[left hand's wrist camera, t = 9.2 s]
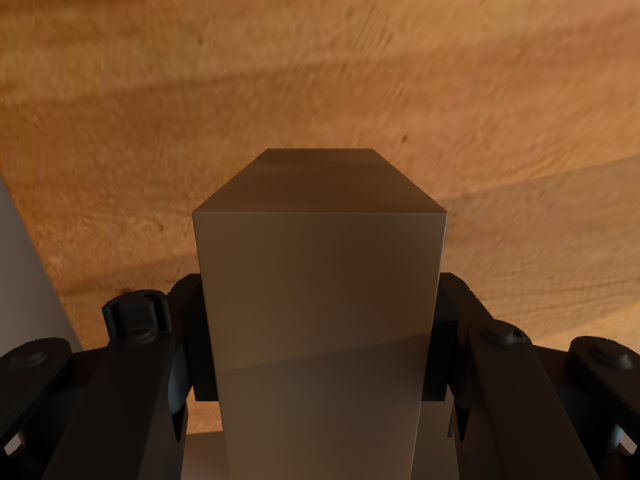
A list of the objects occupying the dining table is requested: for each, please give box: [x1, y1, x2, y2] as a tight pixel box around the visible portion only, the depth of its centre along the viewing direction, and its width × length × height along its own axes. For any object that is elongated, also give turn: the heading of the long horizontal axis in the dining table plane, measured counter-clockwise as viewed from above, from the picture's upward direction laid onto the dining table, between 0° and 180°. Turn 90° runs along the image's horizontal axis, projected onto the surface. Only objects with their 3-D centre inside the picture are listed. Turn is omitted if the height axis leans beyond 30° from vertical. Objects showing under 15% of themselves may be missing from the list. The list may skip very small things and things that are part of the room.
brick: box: [192, 149, 448, 480], centre depth 12 cm, size 5×8×10 cm, turn 0°
